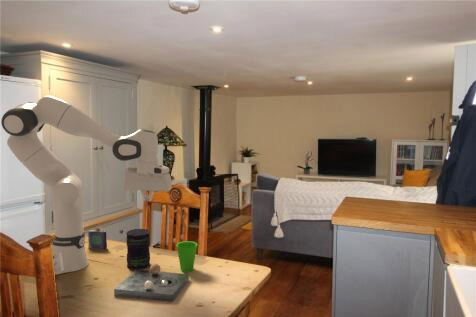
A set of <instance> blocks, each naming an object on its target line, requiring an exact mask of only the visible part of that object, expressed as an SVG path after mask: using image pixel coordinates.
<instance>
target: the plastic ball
mask: <svg viewBox="0 0 476 317" xmlns="http://www.w3.org/2000/svg"><path fill="white" fill-rule="evenodd" d="M152 286H153V283H152V282H151V281H146V282H145V284H144V287H145V288H146V289H151V288H152Z"/></svg>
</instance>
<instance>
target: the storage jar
mask: <svg viewBox="0 0 476 317" xmlns="http://www.w3.org/2000/svg"><path fill="white" fill-rule="evenodd" d="M125 242H126V246H127V247H126V248H127V251H126V252H127V253H126V267H127V269H129V270H131V271H132V270H133V271H136V270H146V269H147V268H150V267H151V263H150V262H151V261H150V260H151V253H150V244H151V236H150V230H149V229H146V228H135V229H130V230H127V231H126V241H125Z"/></svg>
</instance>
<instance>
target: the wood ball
mask: <svg viewBox="0 0 476 317" xmlns="http://www.w3.org/2000/svg"><path fill="white" fill-rule="evenodd" d="M149 271H150V272H151V273H152V274H158V273H159V272H161V266H160V265H159V264H158V263H153V264H151V265H150V266H149Z"/></svg>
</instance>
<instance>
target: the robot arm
mask: <svg viewBox="0 0 476 317" xmlns="http://www.w3.org/2000/svg"><path fill="white" fill-rule="evenodd" d="M0 122H1V127H2V129H3V130H4V131H5V133H7V134H8V135H9V136H8V138H7V141H6V142H7V146H8V148H9V149H10V151H11V152H12V154H13V155H14V156H15V157H16V158H17V160H18V161H20V163H21V164H22V165H23V166H24V167H25V168H26V169H28V170H27V171H29V172H30V173H31V174H32V175H33V176H34V177H35V178H36V179H38V180H40V181H41V182H42V183H44V184H45V185H46V186H47V187H48V188H49V189H51V196H52V197H51V198H52V199H51V200H52V207H53V215H54V234H53V235H52V236H55V237H56V239H55V240H54V242H53V244H52V252H53V262H54V271H55V274H54V275H62V274H64V273H65V274H66V273H70V272H71V273H72V272H76V271H81V270H83V269H85V268H86V267H88V266H89V262H88V258H87V253H86V249H85V243H86V235H85V231H84V209H83V187H84V184H83V181H82V180H81V178H79V176H78V175H76V174H75V173H74V172H73V171H72V170H71V169H70V168H69V167H68V166H67V165H66V164H64V163H63V162H62V161H61V160H60V159H59V158H58V157H57V156H56V155H55V154H54V153H53V152H52V151H51V149H49V148H48V147H47V146H46V145H45V143H43V141H41V139H40V138H39V136H38V133H40V132H41V130H42V129H43V127H44V126H45V125H46V124H47V125H49V126H51V127H54V128H55V129H57V130H59V131H61V132H62V133H63V132H64V133H65V134H68V135H71V136H75V137H82V138H83V137H85V138H89V139H90V138H91V139H93V140H96V141H97V142H100V143H102V144H103V145H106V146H107V147H109V148H112V150H111V152H112V154H113V155H114V157H115V158H116V159H118V160H120V161H123V162H127V161H130V160H135V161H136V167H127V168H126V169H125V170H124V180H123V188H124V189H125V190H130V191H140V193H141V195H142V197H143V201H144V202H151V201H153V196H154V194H155V192H169V191H171V190H172V187H173V185H172V177H171V174H170V167H168V166H165V165H163V164H160V163H159V159H158V152H159V141H158V140H159V139H158V136H157V133H156V132H154V131H152V130H149V129H141V128H140V129H138V130H136V131H135V132H134V133H131V134H129V135H121V134H118V133H116V132H115V131H112V130H111V129H109V128H107V127H104V126H103V125H101V124H99V123H98V122H97V121H95V120H94V119H93V118H91V117H90V116H89V115H88V114H87V113H86V112H84V111H83V110H82V109H80V108H78V107H77V106H75V105H73V104H71V103H69V102H66V101H65V100H63V99H60V98H58V97H55V96H52V95H45V96H42V97H41V98H39V100H38V101H37V102H35V101H34V102H33V101H31V102H30V101H28V102H26V103H23V104H19V105H17V106H15V107H13V108H10V109H9V110H7V111H6V112H4V114H3V115H2V118H1V121H0ZM147 191H149V195H148V196H147Z"/></svg>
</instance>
